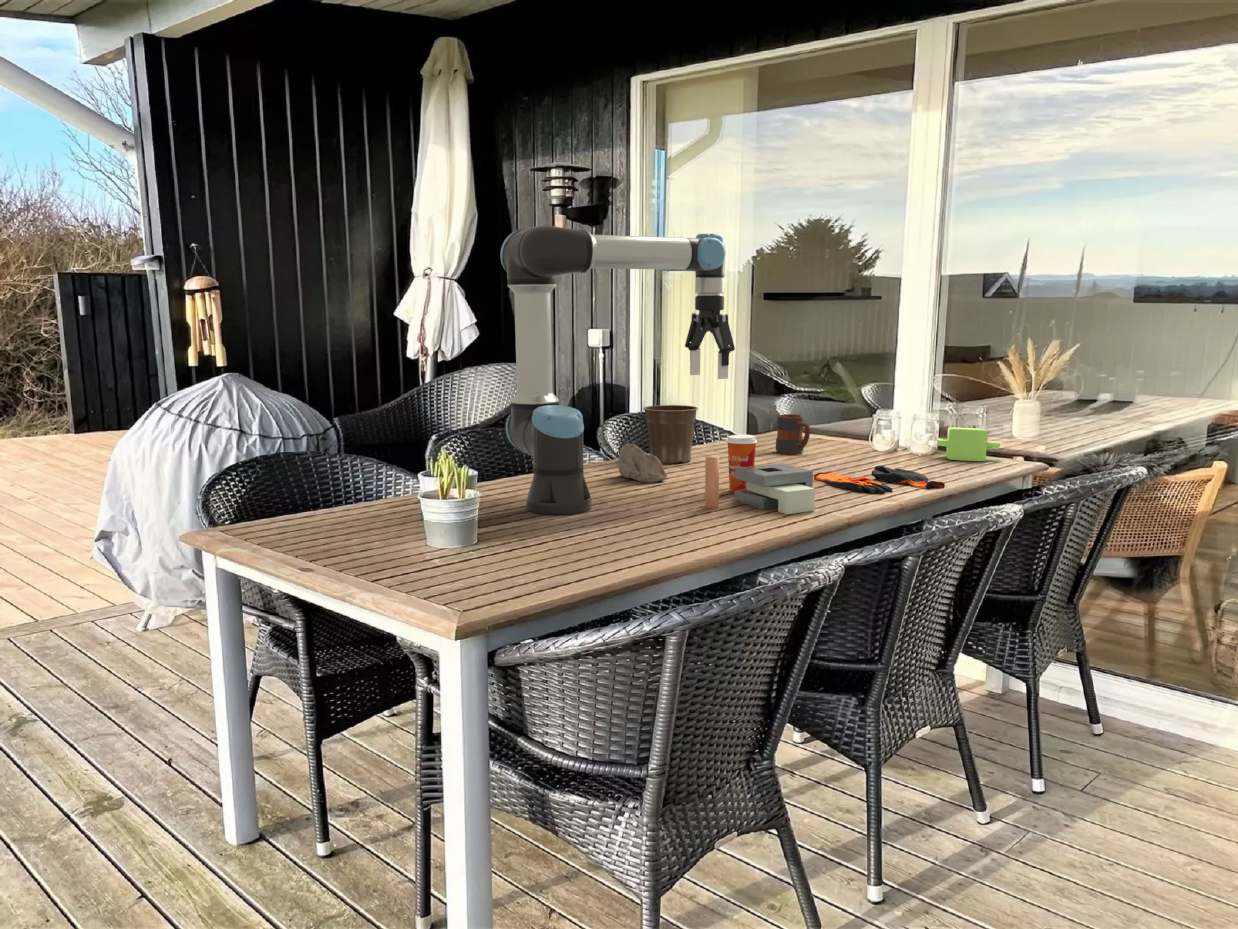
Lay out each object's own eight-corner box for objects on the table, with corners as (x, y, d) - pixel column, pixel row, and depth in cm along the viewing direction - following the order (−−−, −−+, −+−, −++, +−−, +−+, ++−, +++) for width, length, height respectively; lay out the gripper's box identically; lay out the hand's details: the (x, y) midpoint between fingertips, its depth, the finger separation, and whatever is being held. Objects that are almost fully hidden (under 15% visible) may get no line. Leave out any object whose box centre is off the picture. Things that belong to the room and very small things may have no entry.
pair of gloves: (865, 498, 244) (866, 484, 243) (808, 481, 266) (808, 469, 265) (951, 489, 255) (952, 476, 254) (889, 473, 277) (890, 461, 276)
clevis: (763, 510, 228) (764, 476, 227) (734, 500, 239) (734, 467, 237) (811, 504, 234) (813, 470, 233) (781, 495, 245) (782, 463, 244)
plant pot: (646, 455, 304) (646, 403, 302) (698, 456, 302) (699, 404, 299) (640, 464, 289) (640, 410, 286) (695, 466, 286) (696, 410, 284)
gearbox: (996, 459, 300) (999, 428, 299) (1001, 463, 291) (1004, 431, 289) (935, 455, 304) (937, 425, 303) (937, 459, 295) (940, 428, 293)
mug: (799, 457, 301) (800, 419, 299) (769, 452, 310) (770, 415, 308) (817, 454, 307) (818, 416, 305) (787, 449, 316) (788, 413, 314)
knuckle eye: (786, 514, 224) (786, 491, 223) (746, 501, 238) (746, 480, 237) (814, 510, 227) (815, 488, 226) (773, 498, 241) (773, 477, 241)
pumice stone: (669, 482, 263) (670, 445, 261) (648, 485, 258) (648, 448, 257) (632, 474, 274) (632, 438, 273) (612, 477, 270) (611, 441, 268)
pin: (709, 509, 229) (710, 458, 227) (702, 506, 232) (702, 456, 230) (721, 508, 230) (722, 457, 228) (713, 505, 233) (714, 455, 231)
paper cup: (719, 491, 250) (720, 436, 248) (737, 486, 256) (738, 433, 253) (744, 495, 245) (745, 439, 242) (762, 490, 250) (763, 436, 248)
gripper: (749, 294, 246) (747, 379, 250) (696, 294, 268) (695, 372, 272) (724, 294, 243) (722, 381, 247) (672, 294, 265) (672, 373, 268)
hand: (708, 376), depth 259 cm, fingers open, 13 cm apart
